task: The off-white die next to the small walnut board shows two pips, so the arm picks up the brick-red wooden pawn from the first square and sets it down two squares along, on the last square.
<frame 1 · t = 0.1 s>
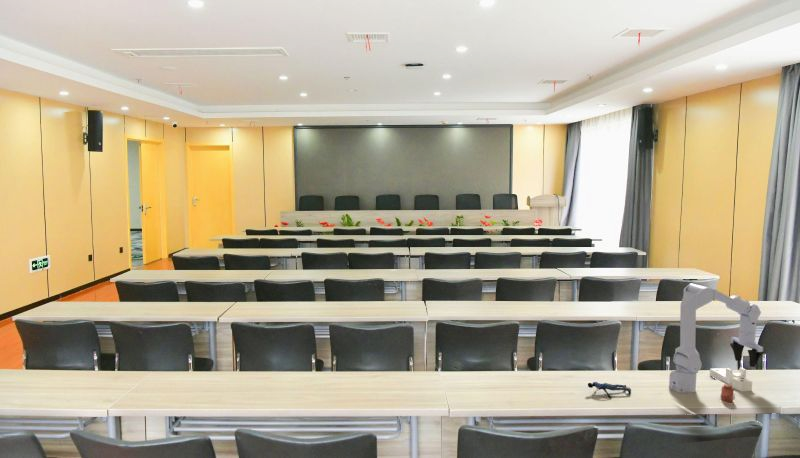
hand: (745, 363, 232), 10 cm above the table, tool pointing down, fingers open, 7 cm apart
pawn: (726, 400, 216), point 1 cm above the table, touching board
bracket: (726, 382, 240), on the table
person figurine: (608, 394, 225), on the table
die: (741, 391, 228), on the table
board: (727, 398, 220), on the table
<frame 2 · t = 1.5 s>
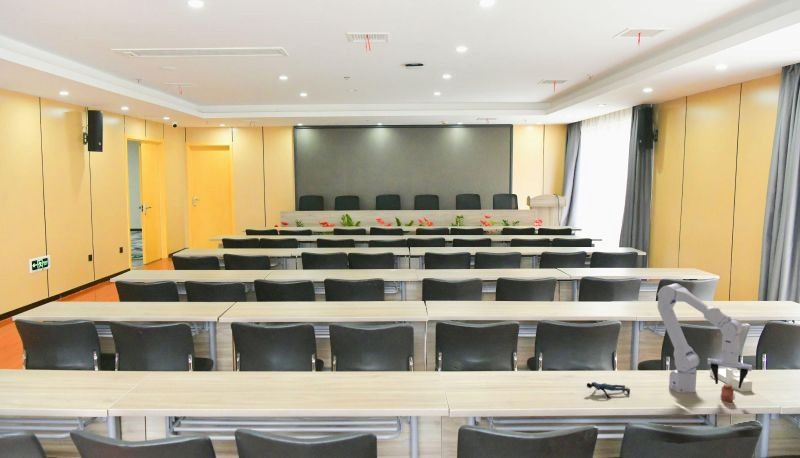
hand: (728, 385, 215), 7 cm above the table, tool pointing down, fingers open, 7 cm apart
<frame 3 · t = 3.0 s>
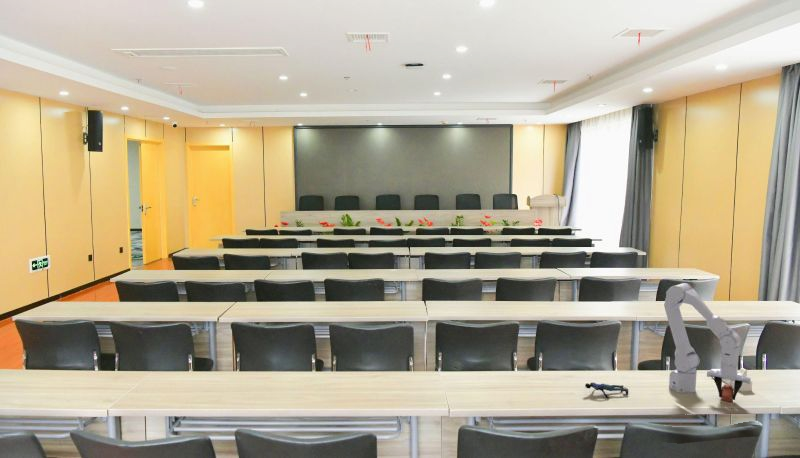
hand: (727, 397, 216), 2 cm above the table, tool pointing down, fingers closed on pawn, 4 cm apart
pawn: (726, 400, 216), point 1 cm above the table, touching board, gripper
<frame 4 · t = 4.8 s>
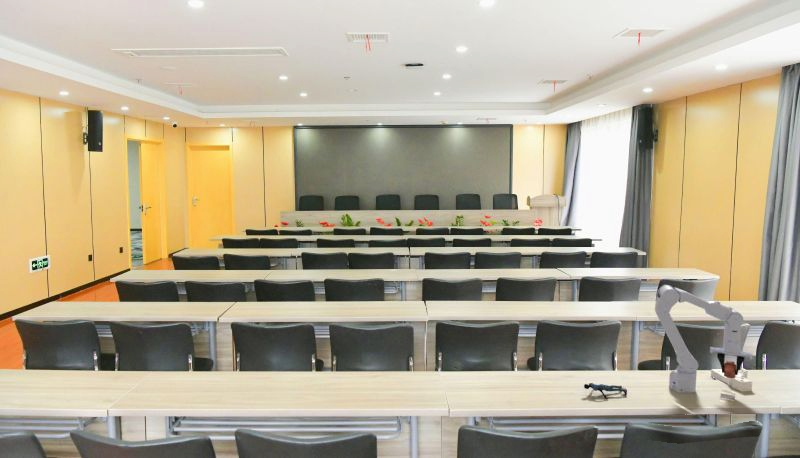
hand: (729, 373, 223), 9 cm above the table, tool pointing down, fingers closed on pawn, 4 cm apart
pawn: (729, 376, 223), point 8 cm above the table, touching gripper
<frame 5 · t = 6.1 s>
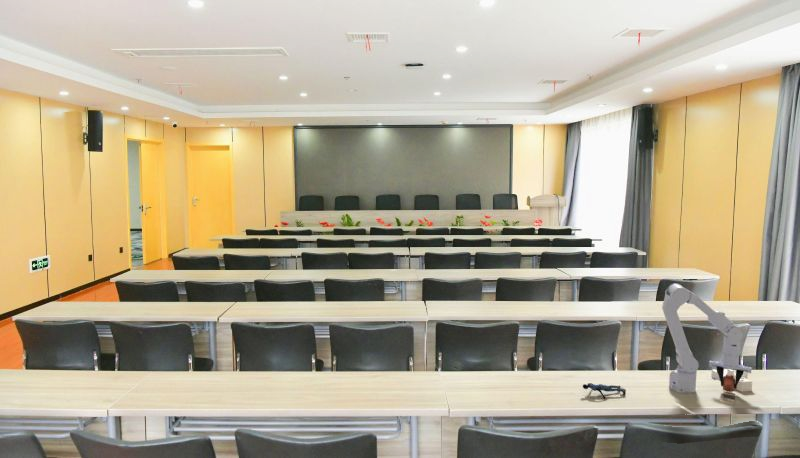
hand: (728, 386, 224), 3 cm above the table, tool pointing down, fingers closed on pawn, 4 cm apart
pawn: (728, 389, 224), point 2 cm above the table, touching gripper
when the fingers open (3 cm above the table, at t = 6.8 s): pawn drops 1 cm, resting on board.
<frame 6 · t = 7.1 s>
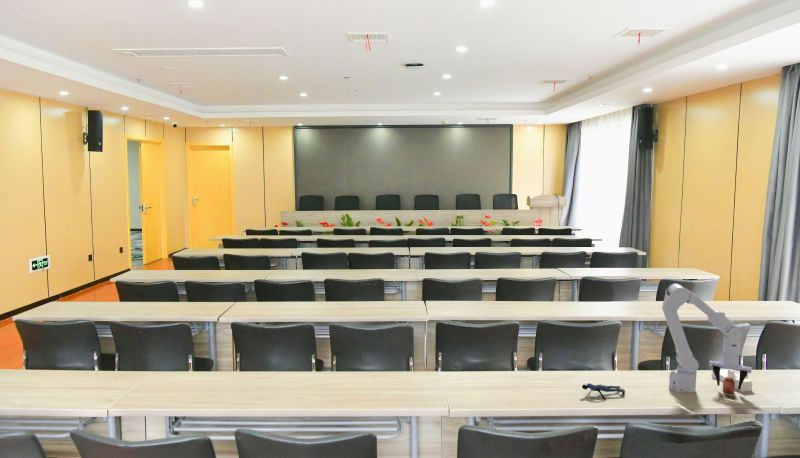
hand: (728, 386, 224), 3 cm above the table, tool pointing down, fingers open, 7 cm apart
pawn: (728, 392, 224), point 1 cm above the table, touching board
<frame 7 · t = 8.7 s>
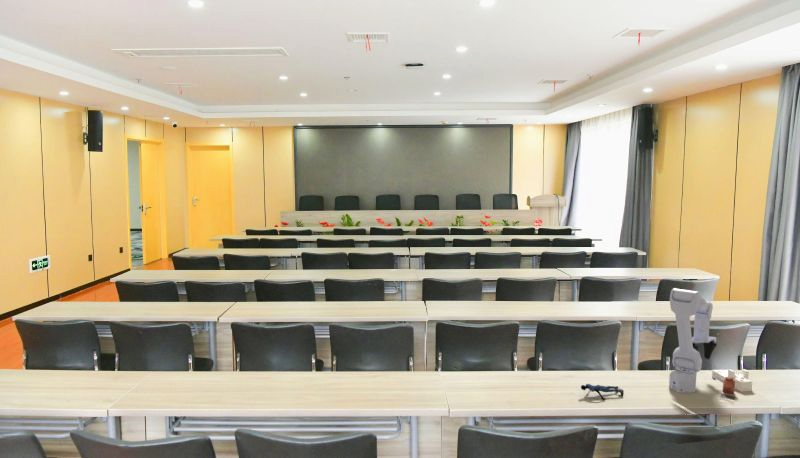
hand: (699, 359, 239), 9 cm above the table, tool pointing down, fingers open, 7 cm apart
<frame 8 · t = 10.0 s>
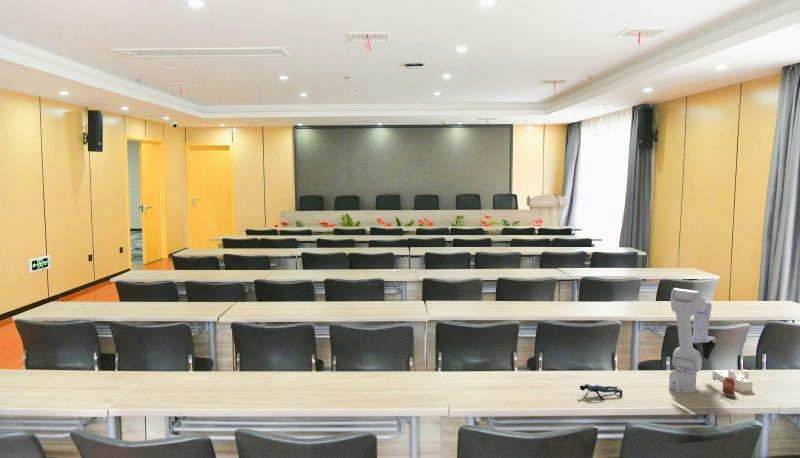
hand: (698, 359, 239), 9 cm above the table, tool pointing down, fingers open, 7 cm apart
at the end: pawn 0.1 cm from the target spot, point 1.0 cm above the table; pawn tilted 1°; the gripper is holding nothing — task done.
